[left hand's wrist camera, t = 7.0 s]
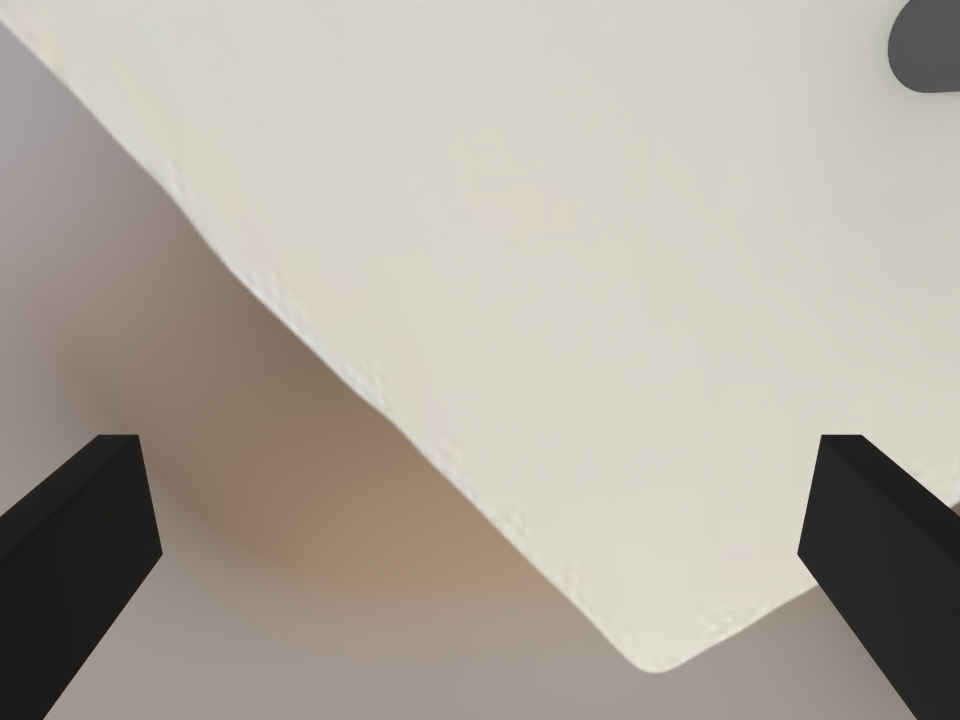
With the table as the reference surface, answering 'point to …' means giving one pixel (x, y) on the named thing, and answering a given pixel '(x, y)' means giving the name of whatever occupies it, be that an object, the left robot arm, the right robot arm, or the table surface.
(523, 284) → the table surface
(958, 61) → the bottle
